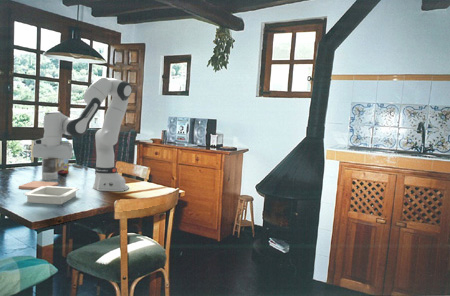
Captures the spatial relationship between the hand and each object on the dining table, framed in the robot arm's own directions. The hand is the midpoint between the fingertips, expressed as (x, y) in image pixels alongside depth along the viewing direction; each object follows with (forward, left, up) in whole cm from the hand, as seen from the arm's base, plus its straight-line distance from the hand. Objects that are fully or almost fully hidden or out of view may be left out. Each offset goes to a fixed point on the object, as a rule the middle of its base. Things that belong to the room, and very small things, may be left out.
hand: (52, 166), depth 174 cm
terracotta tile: (+21, -26, -19) cm, 38 cm away
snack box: (+33, -79, -19) cm, 87 cm away
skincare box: (+26, -48, -19) cm, 58 cm away
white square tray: (0, -1, -19) cm, 19 cm away
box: (0, -1, -3) cm, 3 cm away
